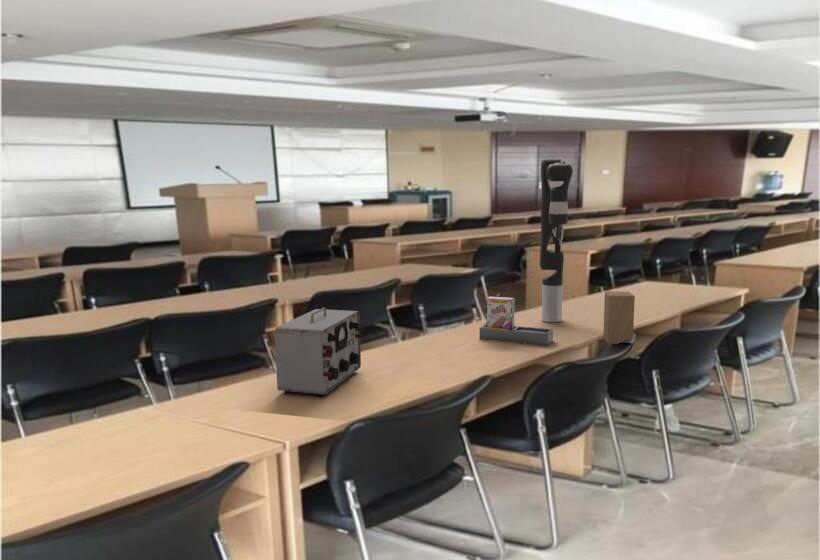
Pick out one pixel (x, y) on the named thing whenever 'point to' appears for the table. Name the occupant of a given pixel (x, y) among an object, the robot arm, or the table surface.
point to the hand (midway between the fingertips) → (557, 253)
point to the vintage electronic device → (317, 351)
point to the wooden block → (618, 317)
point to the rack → (518, 335)
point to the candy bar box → (500, 312)
